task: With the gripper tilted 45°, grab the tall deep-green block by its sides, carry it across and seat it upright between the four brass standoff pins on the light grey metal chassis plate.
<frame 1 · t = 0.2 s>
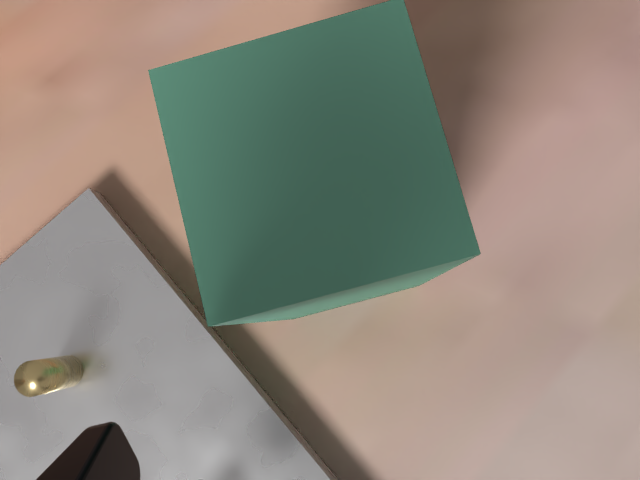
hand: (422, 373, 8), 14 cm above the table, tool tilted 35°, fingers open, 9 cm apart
green block: (339, 240, 23), on the table
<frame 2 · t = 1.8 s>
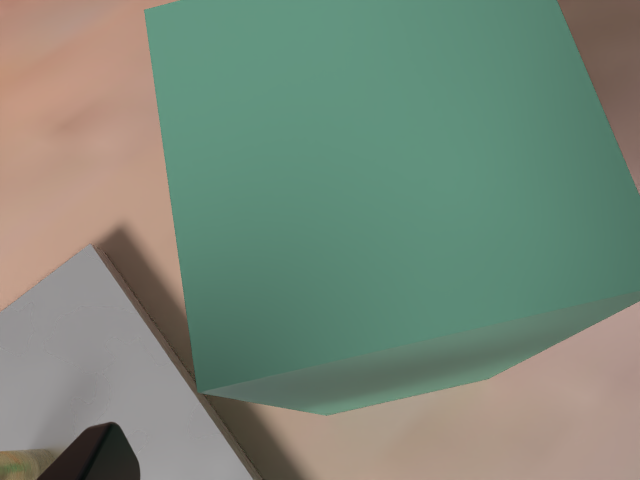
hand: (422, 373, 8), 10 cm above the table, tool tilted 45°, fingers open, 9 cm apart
green block: (386, 317, 19), on the table
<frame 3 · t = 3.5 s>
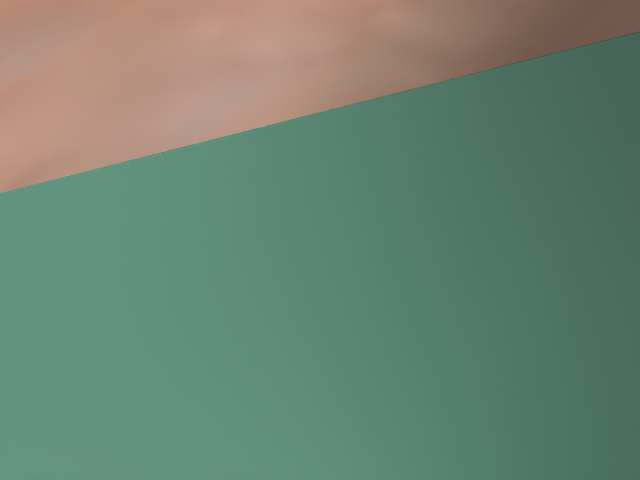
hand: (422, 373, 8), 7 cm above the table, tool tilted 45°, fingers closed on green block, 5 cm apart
green block: (424, 452, 14), on the table, touching gripper
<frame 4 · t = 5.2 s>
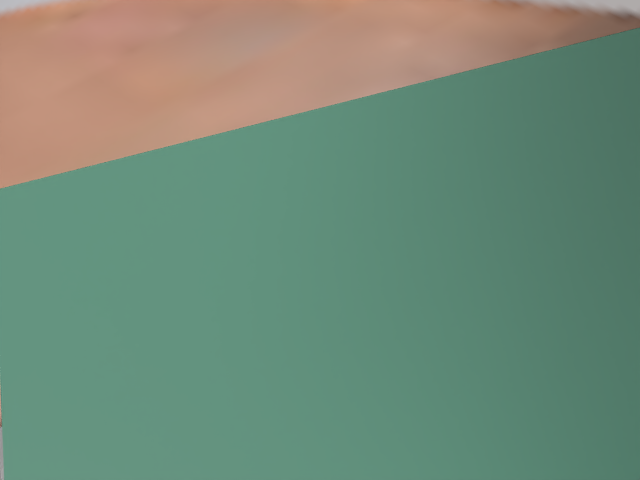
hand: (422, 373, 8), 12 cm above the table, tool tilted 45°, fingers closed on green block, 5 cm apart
green block: (425, 450, 14), point 6 cm above the table, touching gripper
when the fingers open (9 cm above the table, at t = 7.3 s): green block drops 1 cm, resting on chassis.
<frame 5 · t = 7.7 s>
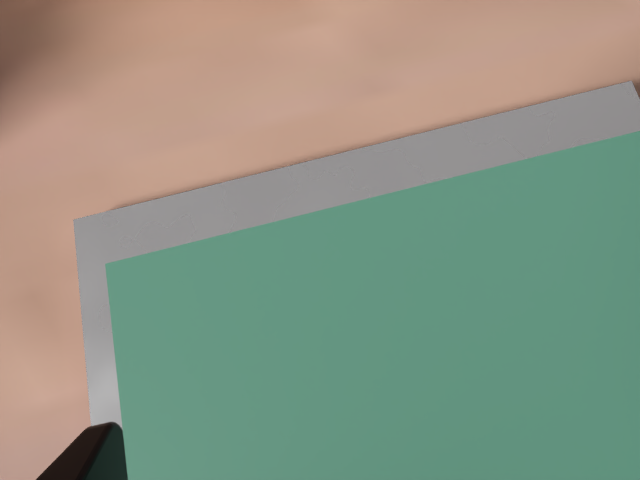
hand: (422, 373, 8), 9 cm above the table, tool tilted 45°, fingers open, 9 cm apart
chassis: (419, 447, 17), on the table
green block: (421, 449, 16), point 1 cm above the table, touching chassis
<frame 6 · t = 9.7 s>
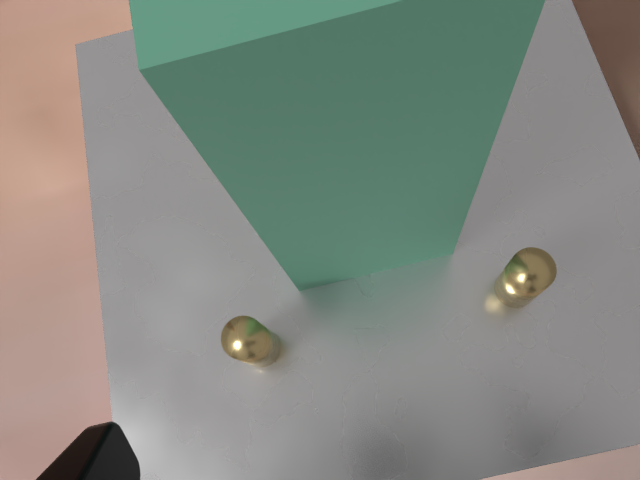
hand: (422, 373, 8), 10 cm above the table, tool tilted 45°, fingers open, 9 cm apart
chassis: (358, 211, 20), on the table
green block: (357, 201, 19), point 1 cm above the table, touching chassis
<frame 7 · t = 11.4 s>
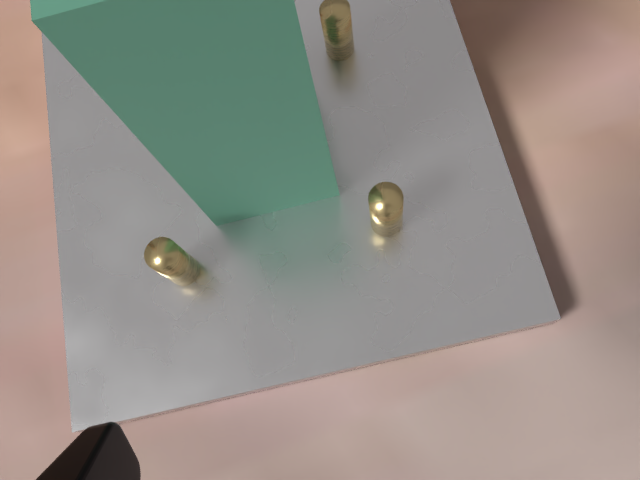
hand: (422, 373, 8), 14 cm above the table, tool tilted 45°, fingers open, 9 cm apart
chassis: (270, 165, 25), on the table
green block: (266, 154, 24), point 1 cm above the table, touching chassis
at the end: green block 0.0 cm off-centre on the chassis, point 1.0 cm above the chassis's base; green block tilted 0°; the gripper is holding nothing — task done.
